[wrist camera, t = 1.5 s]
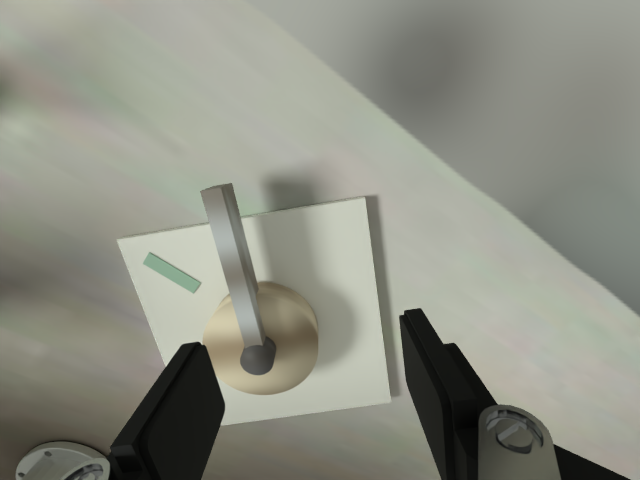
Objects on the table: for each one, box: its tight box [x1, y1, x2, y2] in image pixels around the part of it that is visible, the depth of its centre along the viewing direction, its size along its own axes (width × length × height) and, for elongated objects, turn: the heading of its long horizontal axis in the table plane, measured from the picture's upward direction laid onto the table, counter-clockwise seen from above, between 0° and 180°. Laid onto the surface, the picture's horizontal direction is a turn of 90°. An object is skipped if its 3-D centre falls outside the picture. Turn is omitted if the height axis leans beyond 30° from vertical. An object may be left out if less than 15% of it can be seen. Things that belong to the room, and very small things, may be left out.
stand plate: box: [117, 196, 391, 426], centre depth 32 cm, size 24×24×1 cm
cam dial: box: [200, 183, 318, 395], centre depth 28 cm, size 21×11×5 cm, turn 10°
